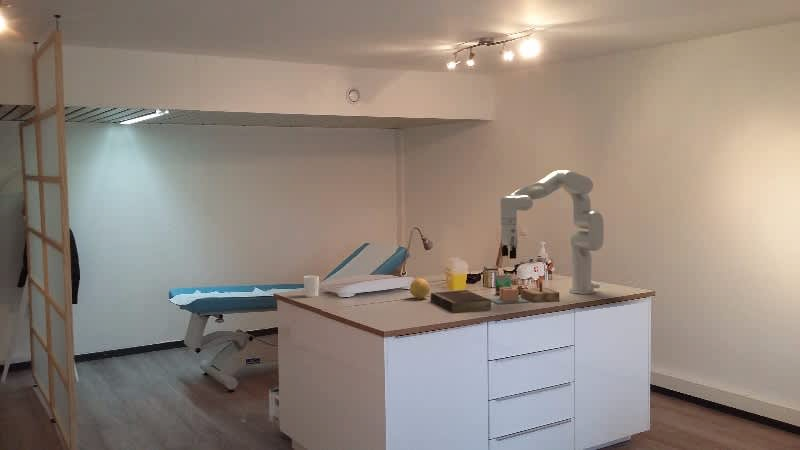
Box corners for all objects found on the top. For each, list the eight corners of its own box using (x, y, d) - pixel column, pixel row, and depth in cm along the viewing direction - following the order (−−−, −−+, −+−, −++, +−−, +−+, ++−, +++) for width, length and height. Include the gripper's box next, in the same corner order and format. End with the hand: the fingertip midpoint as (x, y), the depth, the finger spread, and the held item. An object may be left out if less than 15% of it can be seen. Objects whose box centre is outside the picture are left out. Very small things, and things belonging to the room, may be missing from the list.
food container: (505, 295, 365) (505, 276, 364) (494, 294, 368) (494, 275, 367) (516, 292, 374) (516, 273, 374) (506, 291, 378) (506, 272, 377)
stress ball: (428, 298, 363) (415, 284, 367) (436, 285, 357) (423, 271, 361) (415, 304, 356) (402, 290, 360) (423, 291, 350) (410, 277, 354)
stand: (546, 295, 364) (546, 279, 363) (559, 300, 350) (559, 283, 350) (520, 297, 360) (520, 280, 360) (532, 302, 347) (532, 285, 346)
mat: (518, 297, 358) (518, 296, 358) (529, 302, 346) (529, 301, 346) (487, 299, 355) (487, 298, 355) (497, 304, 342) (497, 303, 342)
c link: (512, 298, 355) (512, 287, 354) (518, 300, 348) (518, 289, 347) (499, 298, 353) (499, 287, 353) (505, 301, 346) (505, 290, 346)
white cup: (320, 294, 372) (320, 275, 371) (317, 297, 364) (317, 277, 363) (305, 294, 372) (305, 275, 372) (302, 297, 365) (301, 277, 364)
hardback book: (430, 302, 351) (430, 292, 351) (466, 300, 357) (466, 290, 356) (452, 313, 324) (452, 302, 323) (491, 311, 329) (491, 300, 329)
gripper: (523, 222, 340) (523, 259, 341) (508, 220, 357) (509, 254, 358) (508, 223, 338) (508, 259, 340) (494, 220, 355) (495, 255, 356)
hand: (508, 257), depth 349 cm, fingers open, 9 cm apart
